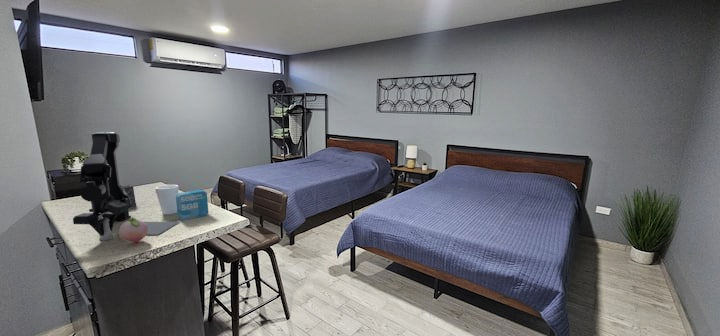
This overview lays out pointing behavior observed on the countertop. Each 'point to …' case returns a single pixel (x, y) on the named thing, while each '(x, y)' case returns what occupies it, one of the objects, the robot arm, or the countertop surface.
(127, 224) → the decorative fruit
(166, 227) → the mat
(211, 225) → the countertop surface
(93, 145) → the robot arm
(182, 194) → the data package
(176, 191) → the foam cup
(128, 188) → the small box
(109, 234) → the rook chess piece
